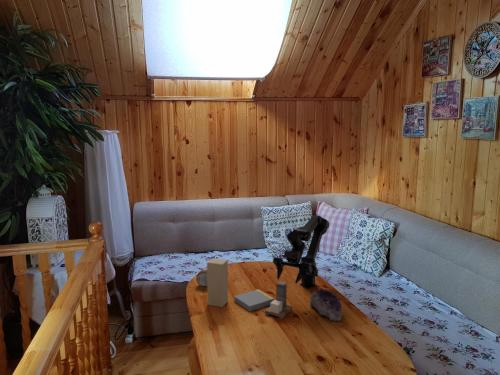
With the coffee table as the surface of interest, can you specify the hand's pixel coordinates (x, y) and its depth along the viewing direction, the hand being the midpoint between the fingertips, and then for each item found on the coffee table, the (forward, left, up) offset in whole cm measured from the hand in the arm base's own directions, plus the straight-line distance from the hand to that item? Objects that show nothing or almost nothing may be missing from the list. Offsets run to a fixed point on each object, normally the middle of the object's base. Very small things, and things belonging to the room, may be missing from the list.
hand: (286, 281), depth 189 cm
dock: (+12, -10, -12) cm, 20 cm away
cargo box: (+9, +5, -10) cm, 15 cm away
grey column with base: (+7, +4, -12) cm, 14 cm away
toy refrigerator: (+27, -18, -12) cm, 35 cm away
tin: (+22, -38, -12) cm, 46 cm away
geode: (-13, +15, -12) cm, 23 cm away
